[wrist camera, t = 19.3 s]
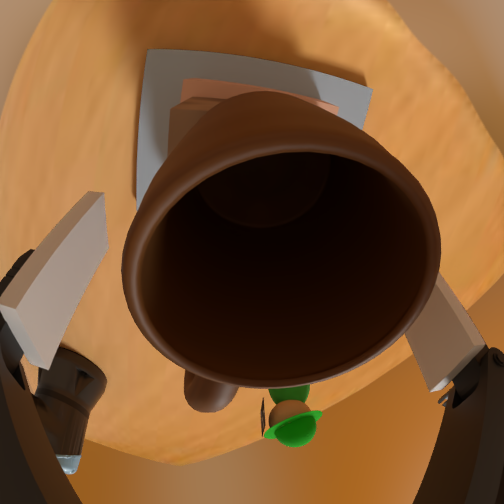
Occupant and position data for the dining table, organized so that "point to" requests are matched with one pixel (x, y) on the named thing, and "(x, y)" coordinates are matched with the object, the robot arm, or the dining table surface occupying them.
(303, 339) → the mug
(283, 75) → the plate
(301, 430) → the toy
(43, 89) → the dining table surface
